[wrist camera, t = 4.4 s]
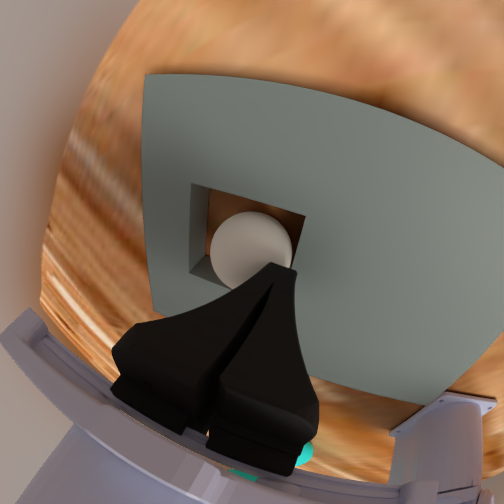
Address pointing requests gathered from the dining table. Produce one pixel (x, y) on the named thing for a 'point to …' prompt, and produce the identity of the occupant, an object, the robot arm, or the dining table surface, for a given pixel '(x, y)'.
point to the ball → (248, 247)
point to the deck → (333, 224)
